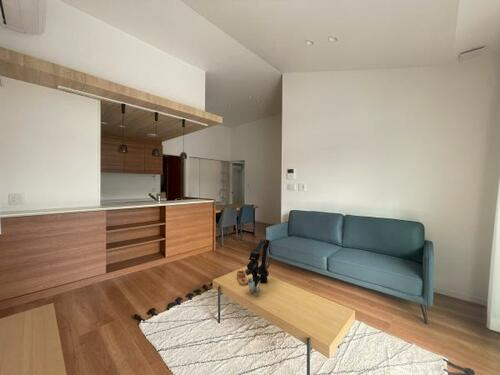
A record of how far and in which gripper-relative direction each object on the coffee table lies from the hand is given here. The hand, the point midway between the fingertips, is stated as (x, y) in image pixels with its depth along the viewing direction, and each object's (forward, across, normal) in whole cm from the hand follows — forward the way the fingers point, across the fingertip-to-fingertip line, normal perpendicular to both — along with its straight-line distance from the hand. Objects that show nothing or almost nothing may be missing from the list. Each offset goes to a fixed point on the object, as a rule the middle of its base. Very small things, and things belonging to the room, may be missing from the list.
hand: (254, 283), depth 179 cm
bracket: (+8, -19, -9) cm, 22 cm away
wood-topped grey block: (+6, 0, 0) cm, 6 cm away
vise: (+7, -11, 0) cm, 13 cm away
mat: (+7, 0, 0) cm, 7 cm away
